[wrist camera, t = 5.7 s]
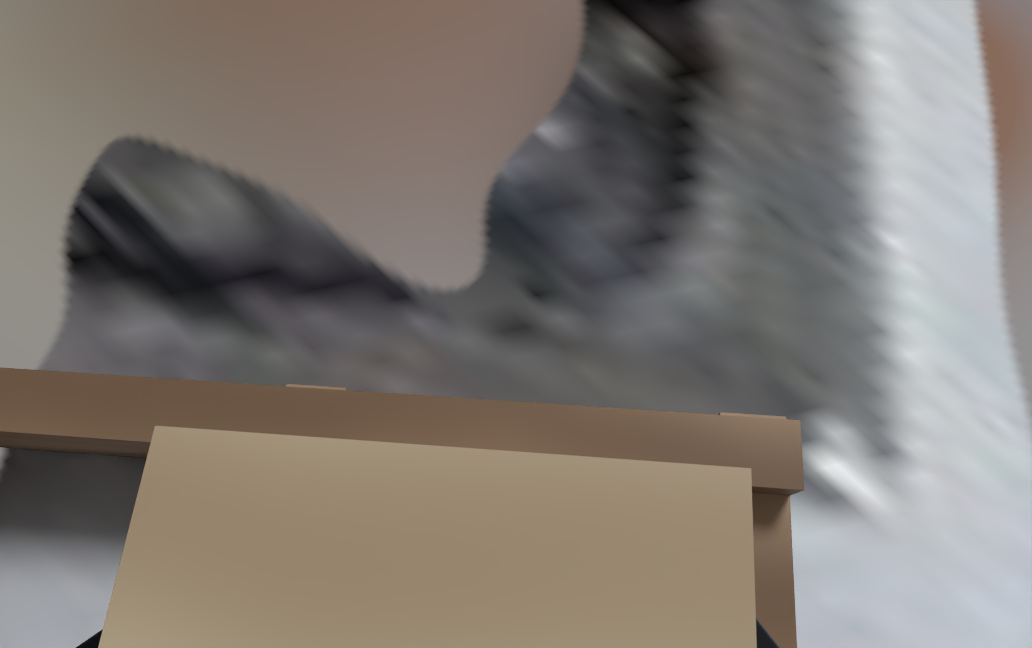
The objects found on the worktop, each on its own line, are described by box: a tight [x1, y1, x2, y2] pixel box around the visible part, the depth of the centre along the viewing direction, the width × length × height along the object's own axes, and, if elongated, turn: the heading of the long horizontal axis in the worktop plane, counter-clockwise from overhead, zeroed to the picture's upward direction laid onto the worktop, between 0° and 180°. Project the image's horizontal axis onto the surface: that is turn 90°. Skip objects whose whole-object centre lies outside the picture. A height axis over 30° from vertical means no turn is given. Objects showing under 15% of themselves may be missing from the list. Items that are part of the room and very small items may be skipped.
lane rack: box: [0, 368, 804, 648], centre depth 16 cm, size 9×22×3 cm, turn 85°
